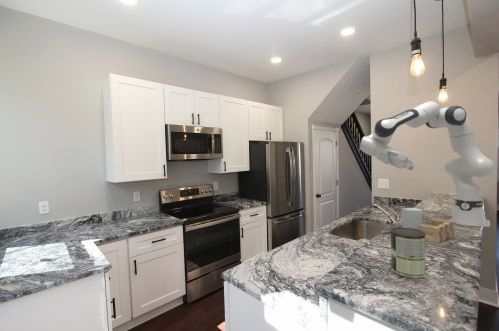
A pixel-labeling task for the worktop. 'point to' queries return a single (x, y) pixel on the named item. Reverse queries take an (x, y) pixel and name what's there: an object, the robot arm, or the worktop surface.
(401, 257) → the coffee can
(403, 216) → the supplement box
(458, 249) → the worktop surface
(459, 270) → the worktop surface
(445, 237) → the oak rack
